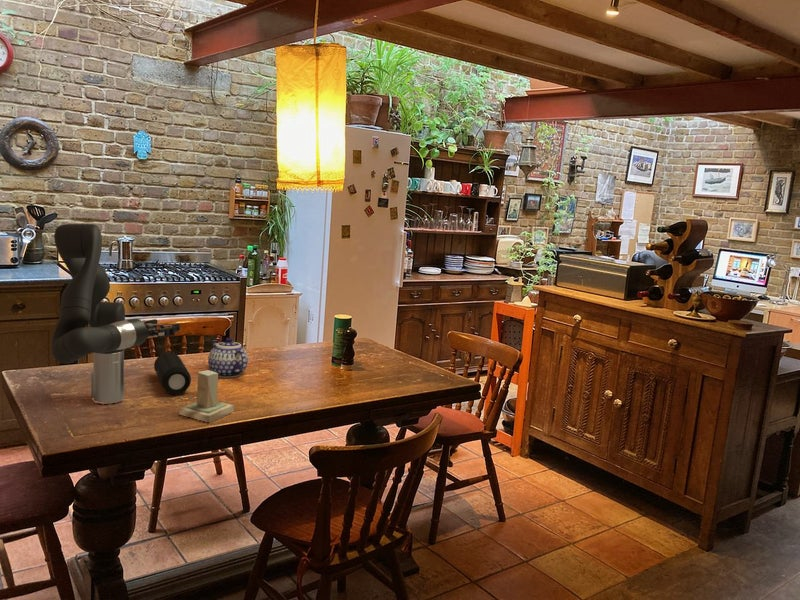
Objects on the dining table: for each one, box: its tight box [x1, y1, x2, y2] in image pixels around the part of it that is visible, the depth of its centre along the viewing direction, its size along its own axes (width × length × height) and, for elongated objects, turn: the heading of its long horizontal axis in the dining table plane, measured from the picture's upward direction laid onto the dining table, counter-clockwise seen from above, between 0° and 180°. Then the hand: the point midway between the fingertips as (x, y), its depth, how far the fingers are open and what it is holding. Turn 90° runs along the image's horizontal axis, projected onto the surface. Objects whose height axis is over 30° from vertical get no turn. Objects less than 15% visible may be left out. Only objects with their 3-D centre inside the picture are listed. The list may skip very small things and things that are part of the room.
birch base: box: [178, 400, 235, 424], centre depth 209 cm, size 12×12×3 cm
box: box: [196, 369, 219, 408], centre depth 207 cm, size 5×4×11 cm
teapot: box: [207, 337, 249, 379], centre depth 252 cm, size 25×15×15 cm, turn 40°
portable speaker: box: [153, 351, 192, 395], centre depth 234 cm, size 26×10×10 cm, turn 27°
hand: (167, 324), depth 190 cm, fingers open, 8 cm apart
